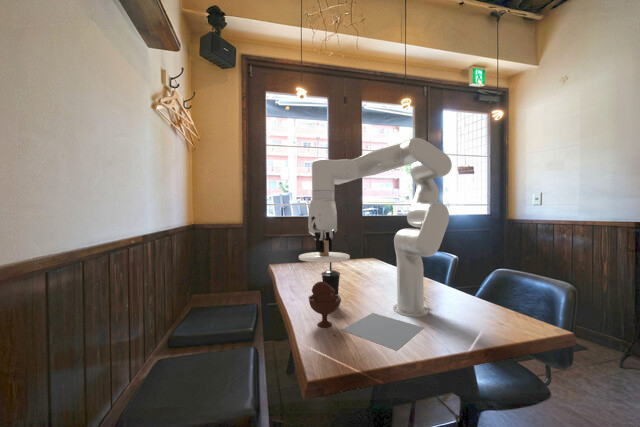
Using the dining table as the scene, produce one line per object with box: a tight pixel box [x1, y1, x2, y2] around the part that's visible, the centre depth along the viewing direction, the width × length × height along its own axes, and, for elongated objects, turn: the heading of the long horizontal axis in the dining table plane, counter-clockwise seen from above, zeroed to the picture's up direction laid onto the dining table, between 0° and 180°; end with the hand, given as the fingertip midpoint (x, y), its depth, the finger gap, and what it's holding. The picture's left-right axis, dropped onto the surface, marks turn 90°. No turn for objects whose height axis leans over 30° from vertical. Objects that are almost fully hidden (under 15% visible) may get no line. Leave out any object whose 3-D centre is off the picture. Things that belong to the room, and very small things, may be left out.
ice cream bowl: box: [307, 281, 342, 329], centre depth 86 cm, size 11×11×15 cm
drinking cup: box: [320, 262, 341, 295], centre depth 104 cm, size 8×8×20 cm
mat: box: [341, 312, 425, 351], centre depth 82 cm, size 19×19×1 cm
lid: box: [298, 239, 351, 264], centre depth 86 cm, size 17×17×6 cm
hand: (324, 251), depth 86 cm, fingers closed on lid, 3 cm apart
